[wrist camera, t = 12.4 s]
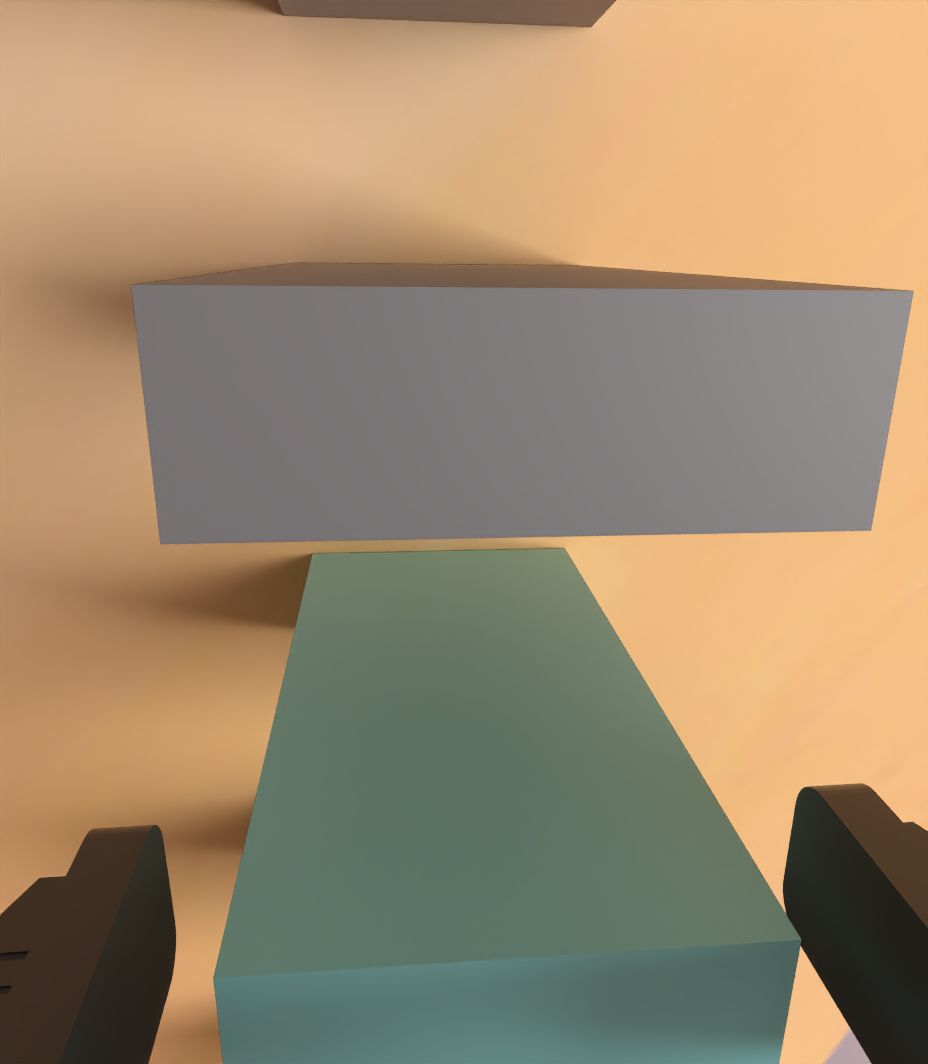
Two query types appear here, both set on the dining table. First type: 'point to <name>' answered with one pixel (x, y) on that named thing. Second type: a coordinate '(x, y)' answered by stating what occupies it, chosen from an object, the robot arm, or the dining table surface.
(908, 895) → the robot arm
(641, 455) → the domino
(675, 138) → the dining table surface
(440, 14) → the domino
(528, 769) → the domino
